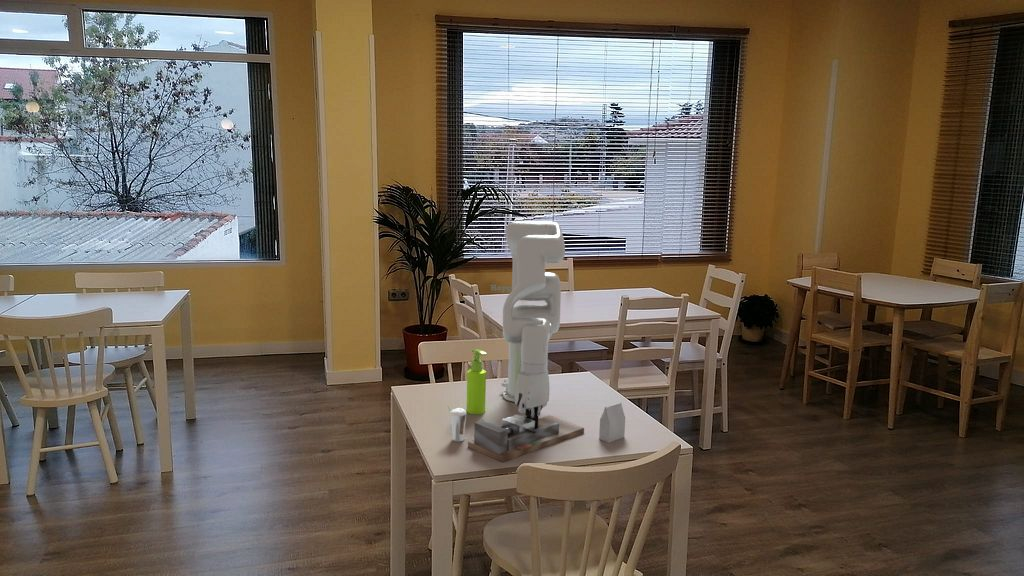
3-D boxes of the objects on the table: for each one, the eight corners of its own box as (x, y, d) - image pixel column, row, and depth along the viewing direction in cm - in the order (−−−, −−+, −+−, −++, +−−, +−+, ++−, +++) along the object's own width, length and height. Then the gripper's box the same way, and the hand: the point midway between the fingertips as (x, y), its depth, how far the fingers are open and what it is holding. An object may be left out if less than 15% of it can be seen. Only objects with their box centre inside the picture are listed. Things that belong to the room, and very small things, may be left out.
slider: (516, 430, 212) (517, 414, 212) (542, 440, 205) (542, 423, 204) (493, 438, 206) (494, 421, 205) (519, 449, 199) (519, 431, 198)
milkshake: (448, 436, 212) (448, 403, 210) (466, 437, 212) (467, 403, 210) (446, 442, 207) (446, 408, 205) (465, 443, 207) (465, 409, 205)
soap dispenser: (476, 416, 229) (477, 354, 225) (462, 410, 234) (463, 349, 230) (491, 412, 232) (492, 351, 229) (477, 406, 237) (478, 346, 234)
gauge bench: (549, 419, 227) (550, 396, 226) (583, 432, 217) (585, 408, 216) (467, 446, 204) (468, 420, 203) (502, 462, 195) (503, 435, 193)
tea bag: (624, 437, 215) (626, 404, 213) (608, 442, 210) (610, 409, 209) (614, 433, 217) (616, 401, 216) (599, 438, 213) (600, 405, 211)
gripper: (542, 360, 216) (540, 419, 219) (505, 369, 206) (504, 431, 209) (561, 365, 211) (559, 426, 214) (524, 375, 201) (523, 439, 204)
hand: (532, 429), depth 211 cm, fingers closed
